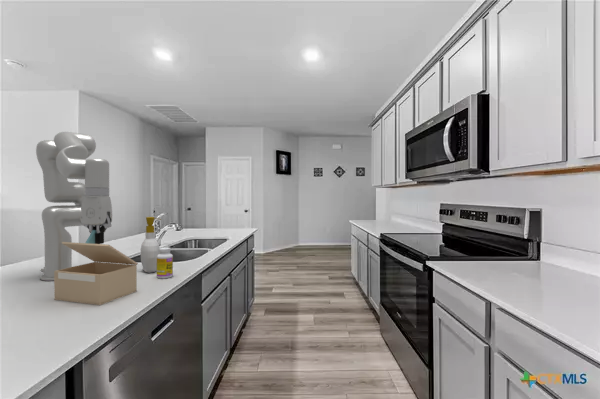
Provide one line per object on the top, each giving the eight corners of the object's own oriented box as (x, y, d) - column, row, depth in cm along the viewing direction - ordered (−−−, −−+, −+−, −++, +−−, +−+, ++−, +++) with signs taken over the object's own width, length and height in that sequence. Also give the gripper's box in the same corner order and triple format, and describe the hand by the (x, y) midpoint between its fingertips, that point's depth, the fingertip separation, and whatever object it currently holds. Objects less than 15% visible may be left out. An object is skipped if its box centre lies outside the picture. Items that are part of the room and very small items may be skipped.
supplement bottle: (166, 279, 139) (166, 250, 139) (153, 278, 141) (153, 249, 140) (175, 275, 146) (175, 247, 146) (162, 274, 147) (162, 246, 147)
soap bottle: (164, 272, 151) (164, 217, 151) (143, 275, 146) (143, 218, 146) (158, 266, 163) (158, 215, 163) (138, 269, 158) (138, 216, 158)
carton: (53, 299, 112) (53, 271, 112) (94, 286, 127) (94, 261, 127) (99, 305, 106) (99, 275, 106) (136, 291, 122) (136, 265, 122)
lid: (61, 243, 114) (70, 228, 118) (94, 261, 127) (101, 247, 130) (108, 246, 109) (116, 230, 112) (137, 264, 122) (144, 250, 125)
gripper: (71, 192, 115) (71, 244, 115) (105, 193, 111) (105, 246, 111) (89, 193, 122) (89, 241, 122) (122, 193, 118) (122, 243, 118)
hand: (97, 243), depth 117 cm, fingers closed
